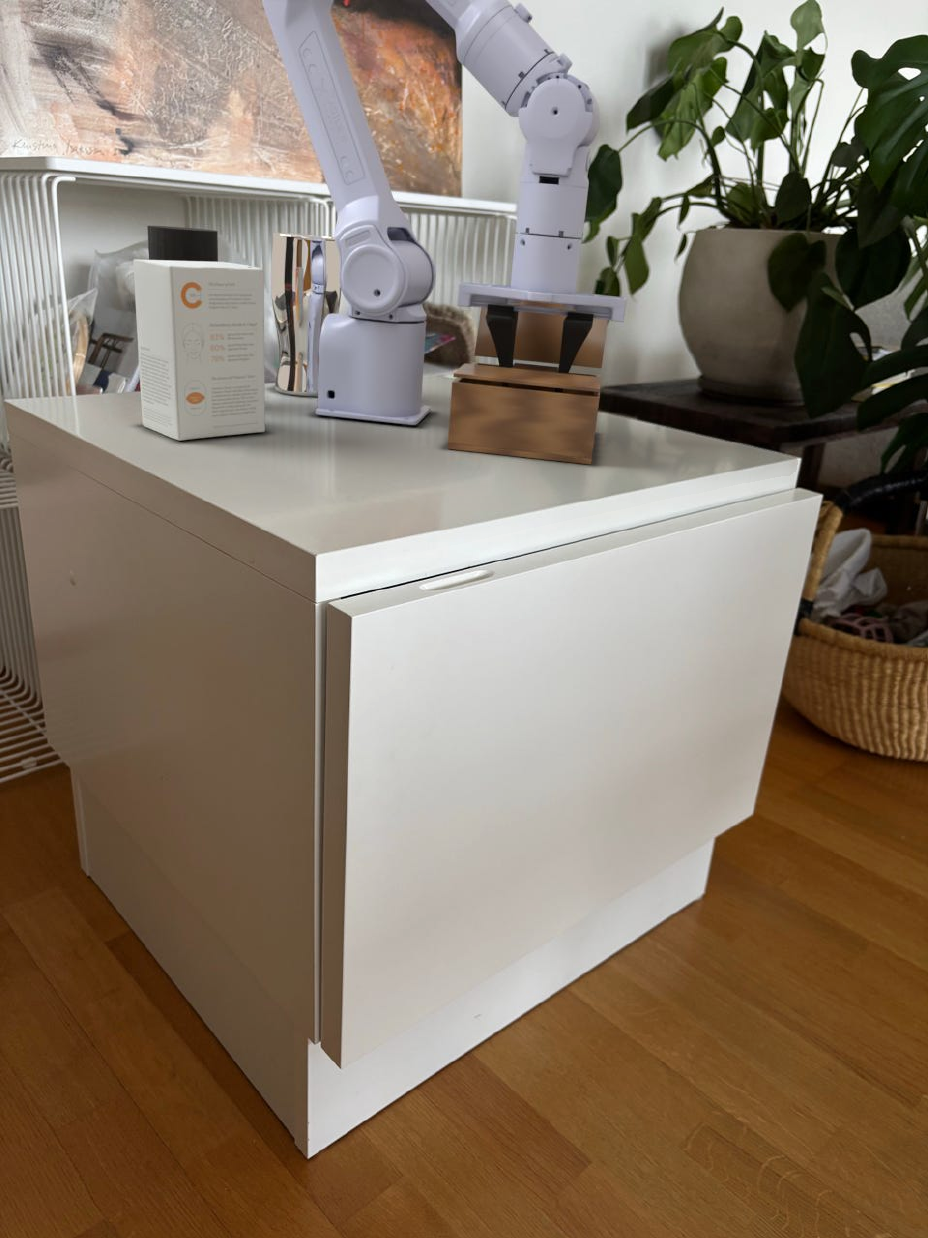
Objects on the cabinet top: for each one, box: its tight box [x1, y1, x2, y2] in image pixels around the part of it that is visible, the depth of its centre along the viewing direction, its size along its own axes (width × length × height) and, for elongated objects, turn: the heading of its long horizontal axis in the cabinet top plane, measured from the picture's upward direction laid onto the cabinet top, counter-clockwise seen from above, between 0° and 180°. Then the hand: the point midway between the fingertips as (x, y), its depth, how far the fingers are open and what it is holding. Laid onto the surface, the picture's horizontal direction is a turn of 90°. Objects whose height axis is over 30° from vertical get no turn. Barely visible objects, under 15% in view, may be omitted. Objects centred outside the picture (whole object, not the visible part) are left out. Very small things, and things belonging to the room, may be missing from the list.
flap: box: [474, 300, 609, 369], centre depth 90 cm, size 12×6×1 cm
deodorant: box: [146, 225, 219, 262], centre depth 88 cm, size 6×6×15 cm
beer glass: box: [270, 232, 342, 397], centre depth 97 cm, size 7×7×15 cm
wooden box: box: [447, 361, 602, 465], centre depth 85 cm, size 12×13×6 cm
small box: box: [132, 258, 266, 442], centre depth 77 cm, size 8×6×13 cm
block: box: [509, 362, 559, 392], centre depth 87 cm, size 4×4×4 cm
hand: (531, 396), depth 88 cm, fingers closed on block, 4 cm apart
